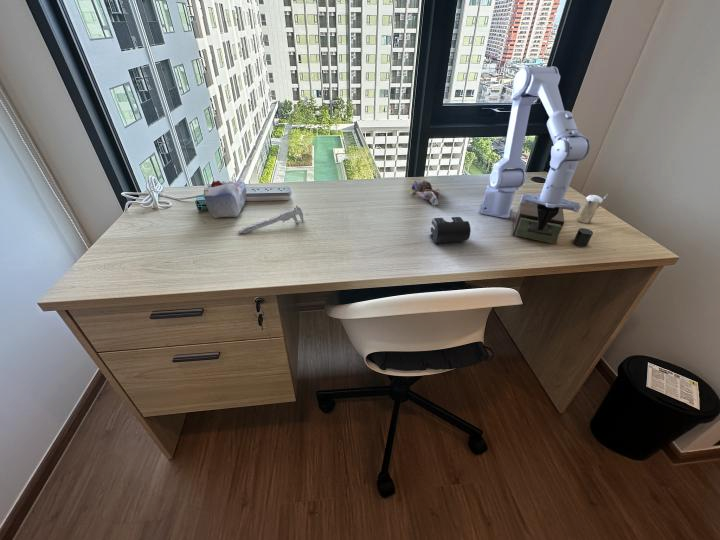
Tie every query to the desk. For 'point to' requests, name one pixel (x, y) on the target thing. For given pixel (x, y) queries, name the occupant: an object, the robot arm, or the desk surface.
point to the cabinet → (535, 215)
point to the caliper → (275, 219)
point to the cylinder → (582, 237)
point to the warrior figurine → (425, 191)
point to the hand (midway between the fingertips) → (539, 229)
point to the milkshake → (590, 208)
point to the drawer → (537, 230)
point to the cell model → (225, 198)
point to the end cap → (450, 230)
